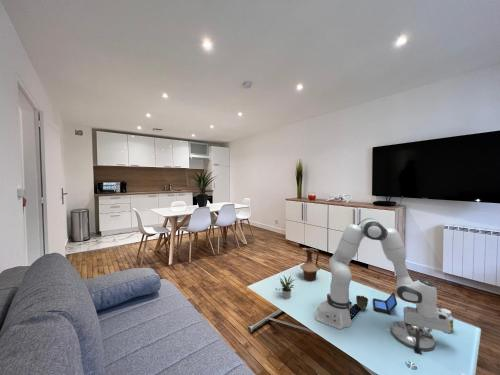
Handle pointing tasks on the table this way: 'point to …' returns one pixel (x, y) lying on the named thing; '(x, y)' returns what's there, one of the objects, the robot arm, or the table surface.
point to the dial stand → (417, 339)
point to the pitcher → (310, 265)
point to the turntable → (401, 333)
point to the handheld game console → (385, 304)
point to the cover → (413, 331)
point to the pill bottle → (449, 318)
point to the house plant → (286, 287)
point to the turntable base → (411, 346)
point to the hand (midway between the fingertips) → (425, 334)
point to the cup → (362, 302)
